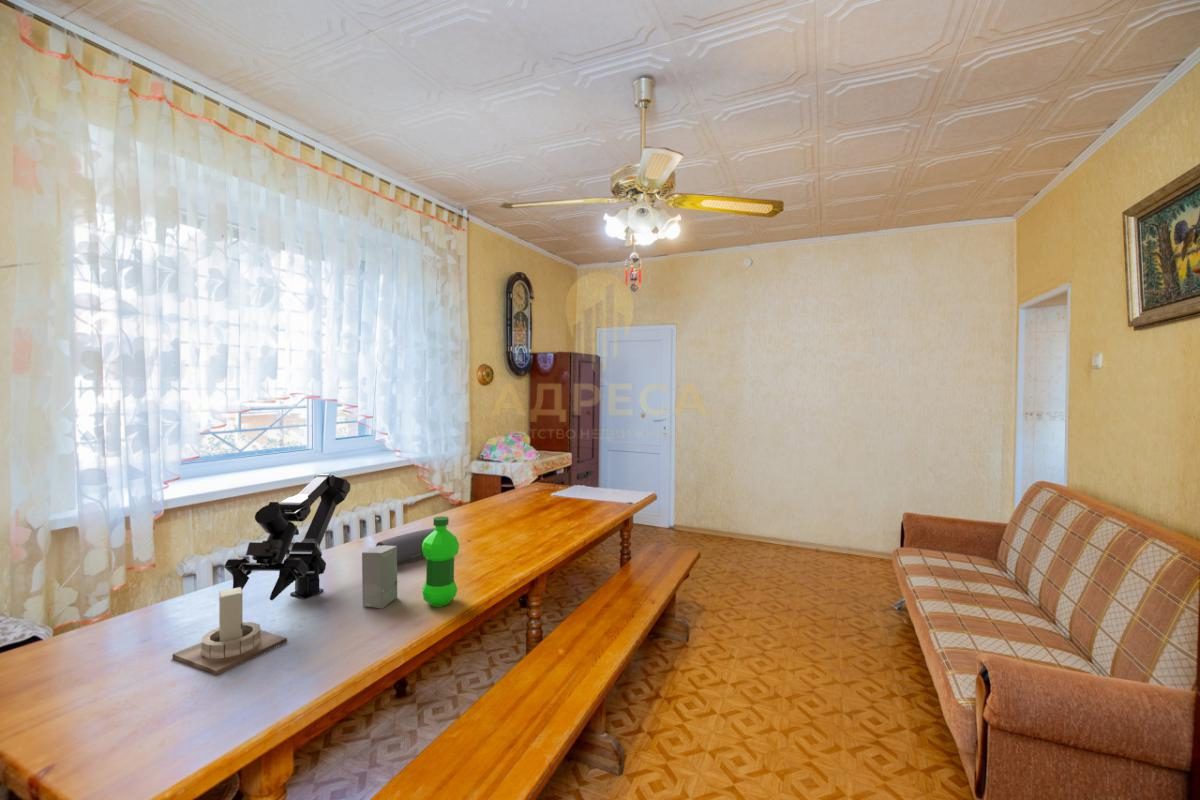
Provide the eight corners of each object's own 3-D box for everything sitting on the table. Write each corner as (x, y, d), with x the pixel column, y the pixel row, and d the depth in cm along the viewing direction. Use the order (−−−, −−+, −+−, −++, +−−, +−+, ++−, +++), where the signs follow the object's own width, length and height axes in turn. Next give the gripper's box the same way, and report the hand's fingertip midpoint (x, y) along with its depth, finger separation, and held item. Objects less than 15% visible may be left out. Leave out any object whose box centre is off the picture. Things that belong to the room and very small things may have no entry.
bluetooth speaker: (428, 550, 197) (429, 524, 196) (444, 555, 191) (444, 528, 191) (373, 566, 178) (373, 537, 178) (388, 572, 173) (388, 543, 172)
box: (243, 647, 120) (243, 593, 120) (219, 652, 117) (220, 597, 117) (241, 638, 124) (241, 586, 124) (218, 643, 122) (219, 590, 121)
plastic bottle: (438, 613, 142) (439, 524, 142) (413, 604, 148) (414, 518, 147) (465, 601, 151) (466, 517, 150) (440, 593, 156) (442, 512, 156)
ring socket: (172, 658, 117) (172, 641, 116) (244, 628, 131) (244, 613, 131) (216, 675, 110) (216, 657, 110) (286, 642, 125) (287, 625, 125)
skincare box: (382, 609, 144) (382, 553, 144) (359, 606, 146) (360, 551, 145) (399, 597, 153) (399, 545, 152) (377, 595, 154) (378, 543, 153)
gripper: (228, 527, 132) (196, 586, 122) (302, 528, 133) (276, 586, 122) (248, 547, 141) (220, 604, 130) (317, 548, 141) (294, 604, 131)
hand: (252, 599), depth 128 cm, fingers open, 9 cm apart
